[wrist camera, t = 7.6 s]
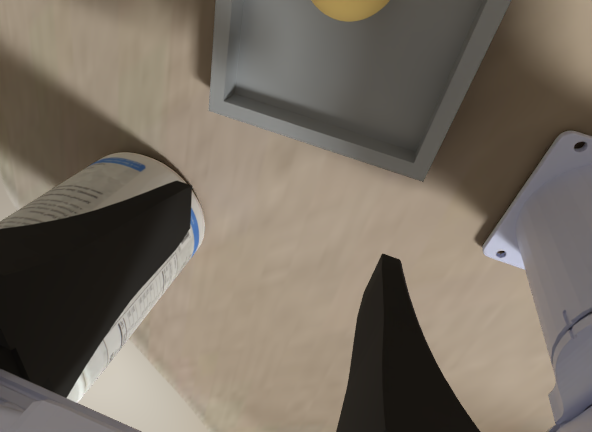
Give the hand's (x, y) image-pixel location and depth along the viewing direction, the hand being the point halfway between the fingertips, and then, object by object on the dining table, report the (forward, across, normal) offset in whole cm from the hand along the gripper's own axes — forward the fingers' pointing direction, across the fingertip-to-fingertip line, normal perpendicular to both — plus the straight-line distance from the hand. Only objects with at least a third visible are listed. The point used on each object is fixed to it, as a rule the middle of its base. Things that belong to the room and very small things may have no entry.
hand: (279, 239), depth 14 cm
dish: (+10, +1, -6) cm, 12 cm away
